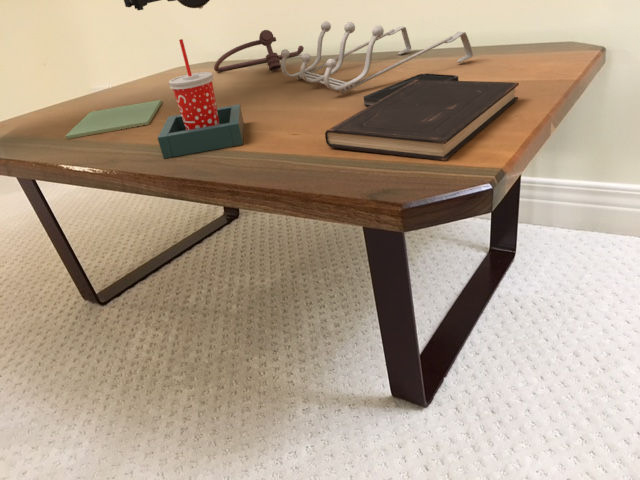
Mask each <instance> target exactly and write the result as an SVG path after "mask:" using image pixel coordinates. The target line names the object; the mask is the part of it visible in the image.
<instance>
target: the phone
mask: <svg viewBox="0 0 640 480" xmlns="http://www.w3.org/2000/svg"><path fill="white" fill-rule="evenodd" d="M414 80H444V81H459V76H458V75H454V74H439V73H419V74H416V75H413V76H411V77H408V78H406V79H404V80H401V81H398V82H396V83H394V84H391V85H388V86H386V87H383V88H381V89H378V90H376V91H374V92H371V93H369V94H366V95H364V96H363V104H364V106H366V107H369V106H370V105H372V104H374V103H376V102H377V101H379V100H381V99H383V98H384V97H386V96H388V95H390V94H391V93H393V92H395V91H397V90H398V89H400V88H402V87H404V86H405V85H407V84H409V83H411V82H412V81H414Z"/></svg>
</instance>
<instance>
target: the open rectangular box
mask: <svg viewBox="0 0 640 480" xmlns="http://www.w3.org/2000/svg"><path fill="white" fill-rule="evenodd" d="M217 112H218V117H219V123H220V125H214V126H208V127H202V128H197V129H191V130H186V128H185V125H184V122H183V119H182V116H181V114H177V115H169V116H167V119H166V121H165V123H164V125H163V127H161V130H160V132H159V134H158V136H157V142H158V144H159V145H158V146H159V147H160V151H161V154H162V158H163V159H164V160H165V159H170V158H171V159H172V158H175V157H182V156H187V155H192V154H198V153H204V152H209V151H215V150H220V149H227V148H232V147H237V146H243V145H244V135H245V134H244V133H245V122H244V121H245V120H244V116H243V112H242V108H241V104H240V103H238V104H232V105H227V106H221V107H217Z"/></svg>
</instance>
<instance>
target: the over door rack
mask: <svg viewBox="0 0 640 480" xmlns="http://www.w3.org/2000/svg"><path fill="white" fill-rule="evenodd" d="M320 29H321V31H320V33H319V35H318V38H317V48H316V49H317V50H316V58H315V60H314V61H313V63H312V64H311V65H309V66H308V67H307V65H308V63H310V61H311V60H312V56H311V54H309V53H308V52H306V53H305V52H304V53H303V54H302V55H301V61H302V62H301V65H300V69H299V71H297V72H296V73H292V74H290V73H289V72H288V71H287V69H286V63H287V60H288V59H287V57H288V58H290V57H289V53H290V51H289V49H287V48H284V49H282V50H281V52H280V55H281V56H282V57H283V58H282V59H281V62H280V64H281V68H280V69H281V72H282V74H283V75H284V76H285V77H288V78H297V80H298V81H300V80H304V81H305V82H307V83H311V84H315V83H318V84H322V85H324V86H325V87H326V88H327V89H329V90H332V91H335V92H337V91H338V92H340V93H341V94H344V93H347V92H349V91H350V90H352V89H354V88H356V87H358V86H360V85H363V84H364V83H366V82H368V81H371V80H372V79H374V78H377V77H379V76H381V75H383V74H385V73H387V72H389V71H391V70H393V69H395V68H396V67H399V66H400V65H403V64H405V63H407V62H408V61H411V60H412V59H415V58H417V57H419V56H421V55H423V54H425V53H427V52H429V51H431V50H433V49H435V48H438V47H439V46H441V45H443V44H449V43H450V44H451V43H453V42H454V41H456V40H457V39H459V38H460V40H461V43H462V45H463V48H464V53H465V55H464V56H462V57H461V58H458V59H457V60H456V62H457V63H458V64H460V63H463V62H465V61H468V60H469V59H472V58H473V57H474V52H473V49H472V45H471V42H470V40H469V37H468V35H467V32H466V31H458V32H456V33H454V34H453V35H450V36H449V37H447V38H444V39H442V40H440V41H438V42H436V43H433V44H432V45H430V46H428V47H426V48H424V49H422V50H420V51H418V52H416V53H414V54H412V55H410V56H408V57H405V58H404V59H401V60H400V61H398V62H395V63H394V64H391V65H390V66H387V67H386V68H383V69H382V70H379V71H377V72H375V73H374V74H372V75H370V76H368V77H366V76H367V75H368V73H369V71H370V68H371V63H372V57H373V52H374V51H373V49H374V46H375V43H376V42H377V41H378V40H381V39H383V38H384V37H386V36H387V37H388V36H392V35H395V34H396V33H398V32H401V35H402V37H403V38H402V39H403V43H404V47H405V48H404V49H402V50H400V51H398V53H397V55H398V56H401V55H404V54H406V53H409V51H411V50H412V45H411V40H410V37H409V33H408V29H407V27H406V26H398V27H397V28H395V29H394V28H392V29H390V30H388V31H387V32H385V30H384V27H383V26H381V24H376V25H375V26H373V27H372V29H371V34H372V36H371V37H370V39H369V41H366V42H364V43H362V44H360V45H358V46H357V47H354V48H353V49H351V50H349V51H347V52H346V45H347V40H348V38H349V36H350V34H353V33H354V32H355V30H356V25H355V23H353V22H352V21H348V22H346V23H345V24H344V34H343V36H342V38H341V40H340V46H339V48H340V49H339V53H338V56H337V57H335V58H328V59H327V61H326V62H325V63H323V64H321V65H319V63H320V62H321V59H322V49H323V41H324V37H325V34H326V33H328V32H329V31H331V29H332V25H331V23H330V22H329V21H327V20H326V21H323V22H322V23H321V25H320ZM366 47H367V48H366ZM363 48H366V56H365V61H364V67H363V69H362V71H361V73H360V74H359V75H358V76H357V77H354V78H352V79H351V80H349V81H344V80H340V79H336V78H334V77H333V78H332V77H330V76H332V75H334V74H336V73H337V72H338V71H339V70H340V69H341V67H342V65H343V63H344V59H345V57H347V56H349V55H351V54H353V53H354V52H355V53H356V52H358V51H359V50H361V49H363ZM318 65H319V66H318ZM325 67H326V68H325ZM324 68H325V71H324V73H323V74H318V73H316V72H318V71H319V70H322V69H324Z"/></svg>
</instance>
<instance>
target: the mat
mask: <svg viewBox="0 0 640 480" xmlns="http://www.w3.org/2000/svg"><path fill="white" fill-rule="evenodd" d="M162 104H163V100H162V99H156V100H152V101H146V102H140V103H134V104H127V105H123V106H117V107H111V108H106V109H98V110H93V111H89V112H88V114H87V115H85V116H84V117H83V118H82V119H81V120H80V121H79V122H78V123H77V124H76V125H74V127H73V128H72V129H71V130H70V131H69V132H67V133H66V134H65V136H64V137H65V139H66V140H70V139H75V138H81V137H86V136H92V135H93V136H94V135H99V134H103V133H109V132H115V131H121V129H122V130H126V128H127V129H132V127H133V128H138V127H137V126H139V127H144V126H143V125H145V126H149V125H150V124H151V121H153V119H154V117H155V115H156V113H157V112H158V110H159V108H160V107H161V105H162Z"/></svg>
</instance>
